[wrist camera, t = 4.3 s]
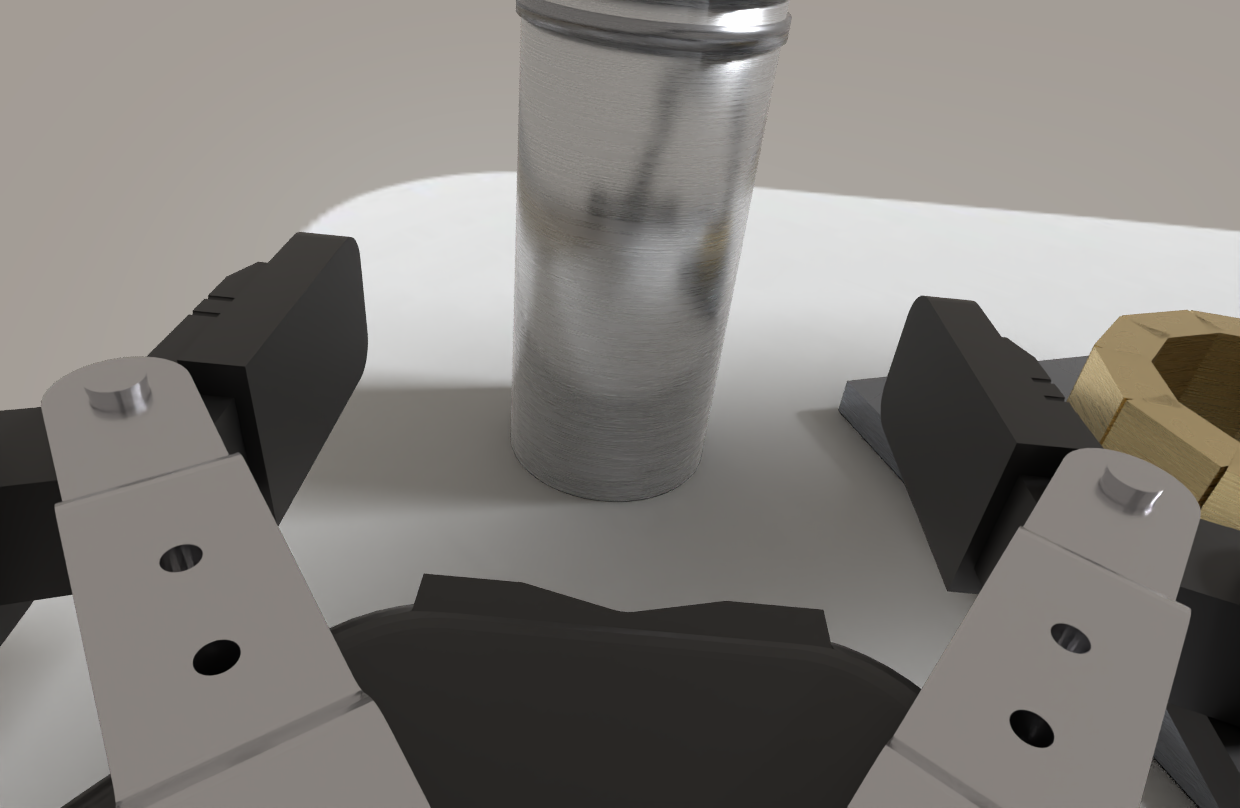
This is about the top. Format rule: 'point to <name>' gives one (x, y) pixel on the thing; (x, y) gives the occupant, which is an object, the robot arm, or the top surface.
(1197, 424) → the ring base
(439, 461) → the top surface
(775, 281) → the top surface
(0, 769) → the top surface
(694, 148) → the piston
